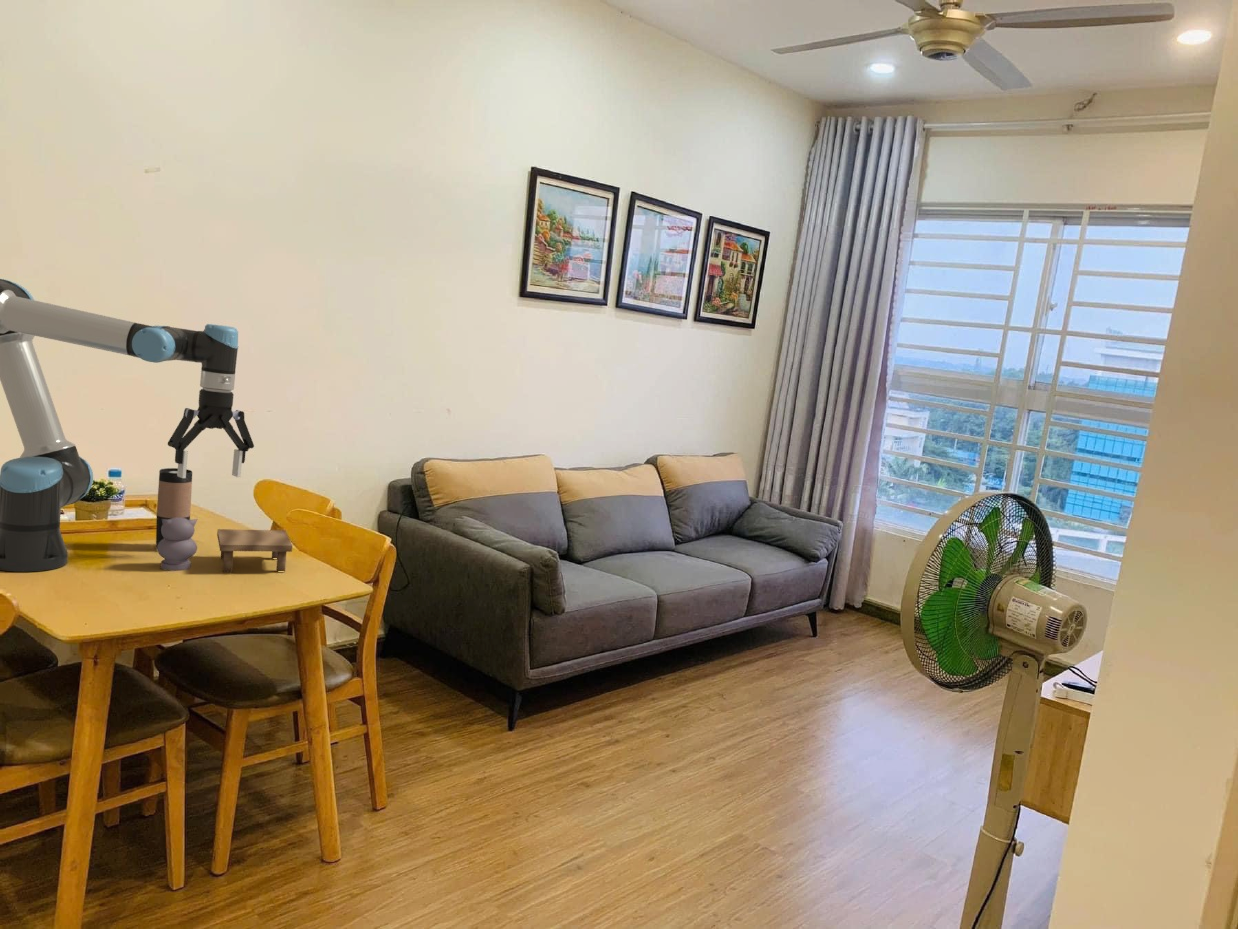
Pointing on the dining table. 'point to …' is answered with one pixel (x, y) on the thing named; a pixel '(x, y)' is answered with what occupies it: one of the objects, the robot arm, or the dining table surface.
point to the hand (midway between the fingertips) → (209, 476)
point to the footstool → (253, 544)
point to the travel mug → (172, 497)
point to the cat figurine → (177, 543)
